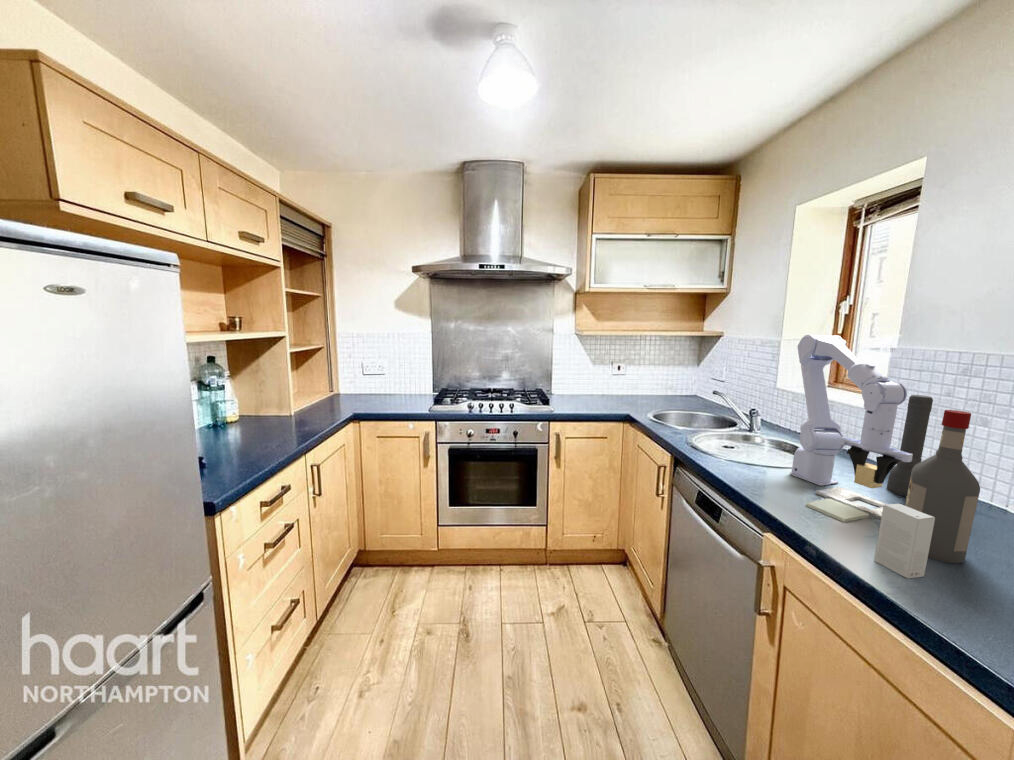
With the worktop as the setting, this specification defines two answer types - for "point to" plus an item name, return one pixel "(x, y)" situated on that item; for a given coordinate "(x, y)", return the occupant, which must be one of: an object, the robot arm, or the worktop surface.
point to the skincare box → (904, 540)
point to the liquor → (947, 491)
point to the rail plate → (847, 496)
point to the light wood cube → (866, 475)
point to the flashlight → (911, 442)
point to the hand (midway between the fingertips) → (868, 479)
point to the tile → (837, 510)
